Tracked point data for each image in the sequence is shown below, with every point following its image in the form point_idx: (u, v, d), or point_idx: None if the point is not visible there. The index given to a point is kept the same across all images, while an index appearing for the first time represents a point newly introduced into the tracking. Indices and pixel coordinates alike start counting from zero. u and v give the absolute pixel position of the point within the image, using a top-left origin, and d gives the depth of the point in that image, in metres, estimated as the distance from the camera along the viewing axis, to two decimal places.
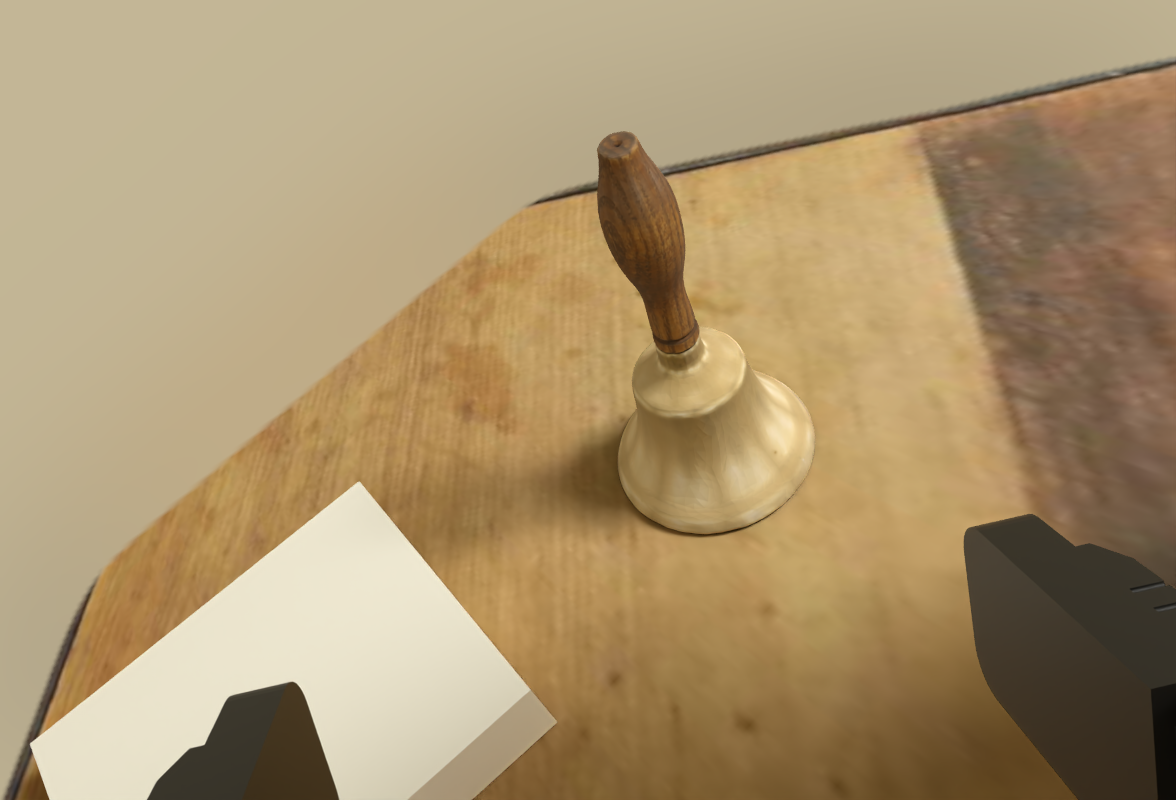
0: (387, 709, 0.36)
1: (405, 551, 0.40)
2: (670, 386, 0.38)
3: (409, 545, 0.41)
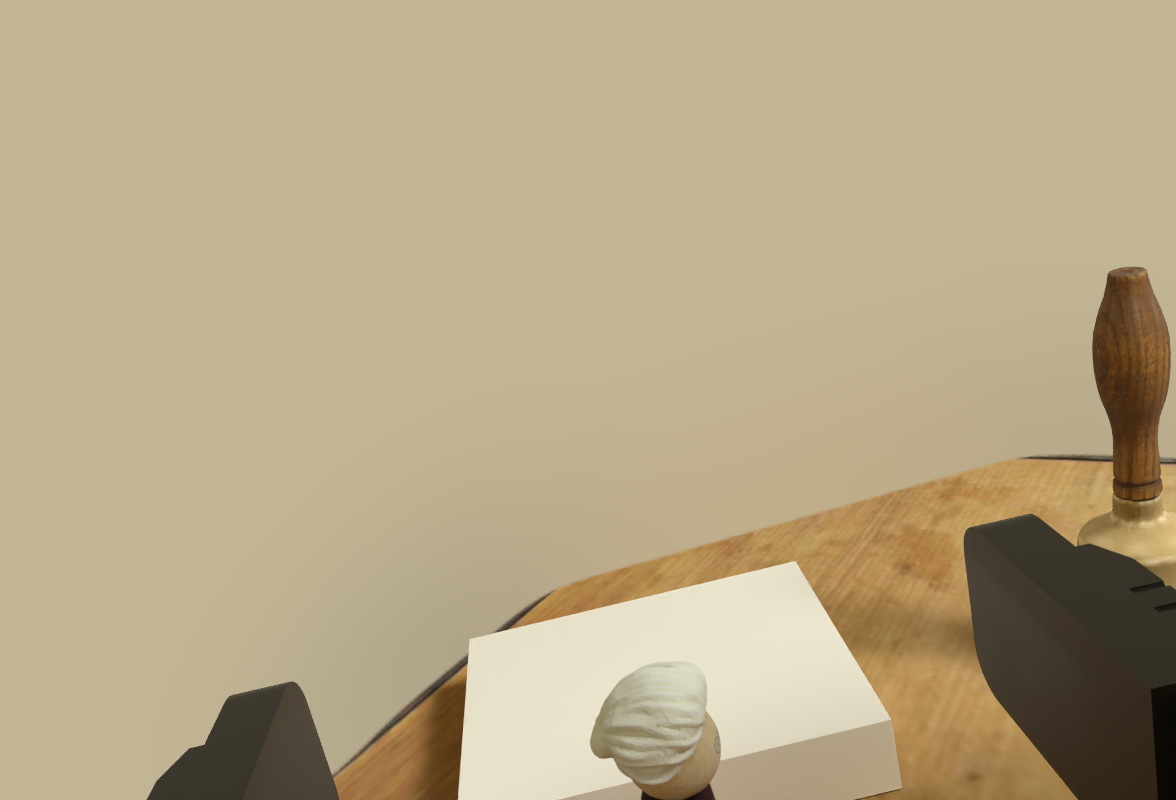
0: (755, 696, 0.40)
1: (815, 609, 0.45)
2: (1117, 533, 0.40)
3: (820, 606, 0.45)
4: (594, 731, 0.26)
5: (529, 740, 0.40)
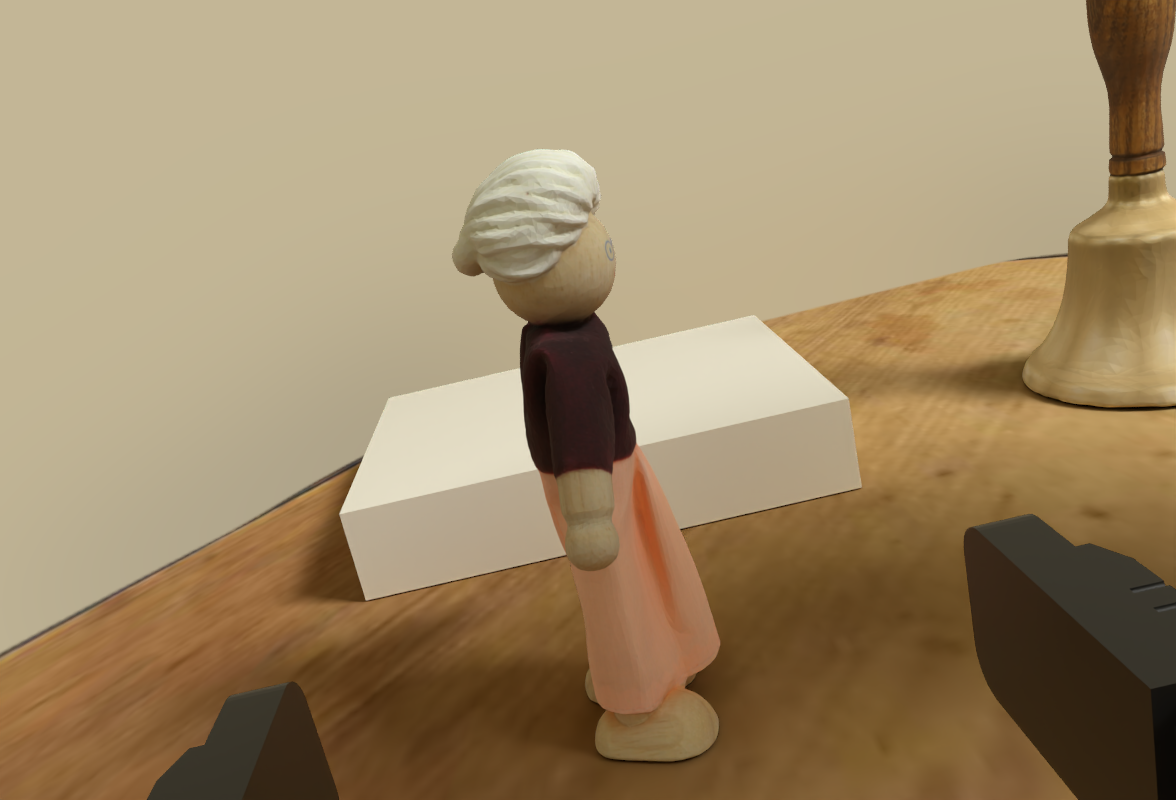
0: (696, 399, 0.35)
1: (772, 340, 0.40)
2: (1113, 217, 0.35)
3: (778, 338, 0.40)
4: (458, 241, 0.21)
5: (436, 452, 0.35)
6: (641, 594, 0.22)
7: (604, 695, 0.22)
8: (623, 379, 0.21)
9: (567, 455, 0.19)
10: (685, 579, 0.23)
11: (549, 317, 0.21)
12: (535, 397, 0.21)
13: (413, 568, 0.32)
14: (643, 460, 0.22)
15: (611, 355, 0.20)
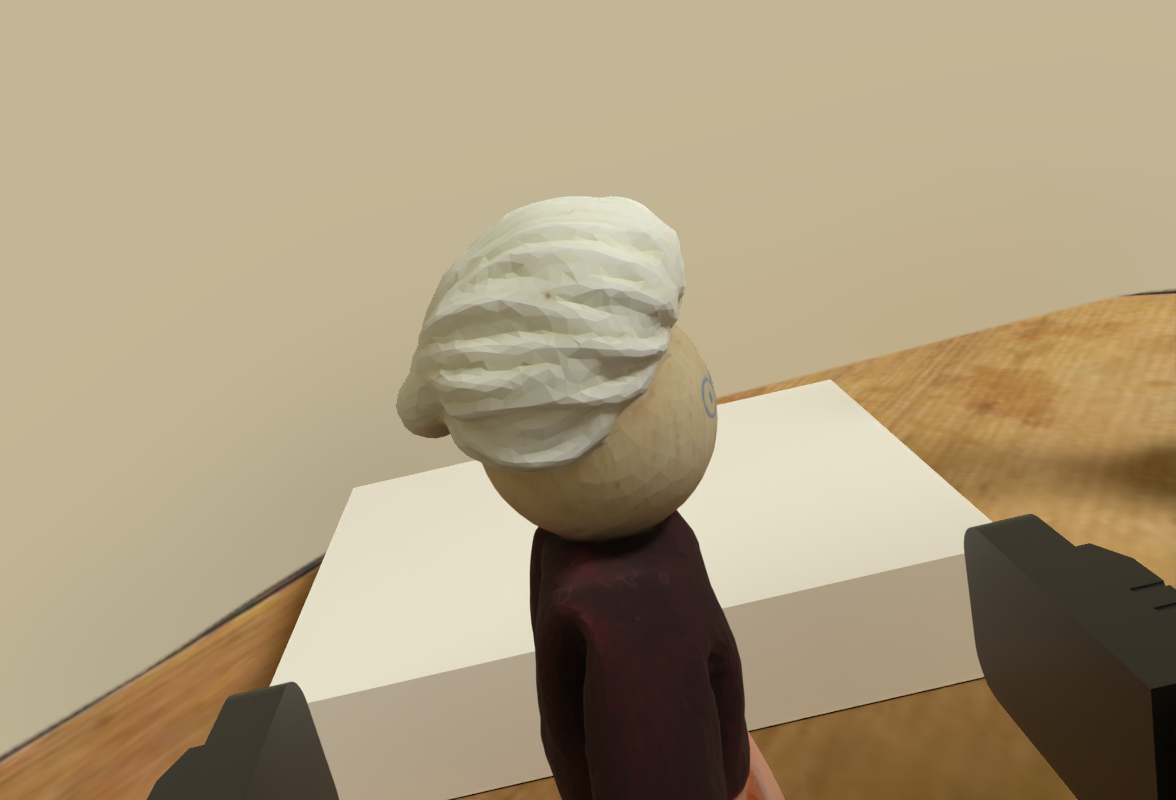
0: (776, 525, 0.24)
1: (866, 423, 0.29)
2: None
3: (874, 420, 0.29)
4: (409, 374, 0.11)
5: (408, 598, 0.25)
6: None
7: None
8: (735, 652, 0.10)
9: None
10: None
11: (588, 532, 0.10)
12: (562, 692, 0.10)
13: (369, 788, 0.22)
14: (761, 774, 0.12)
15: (714, 611, 0.10)
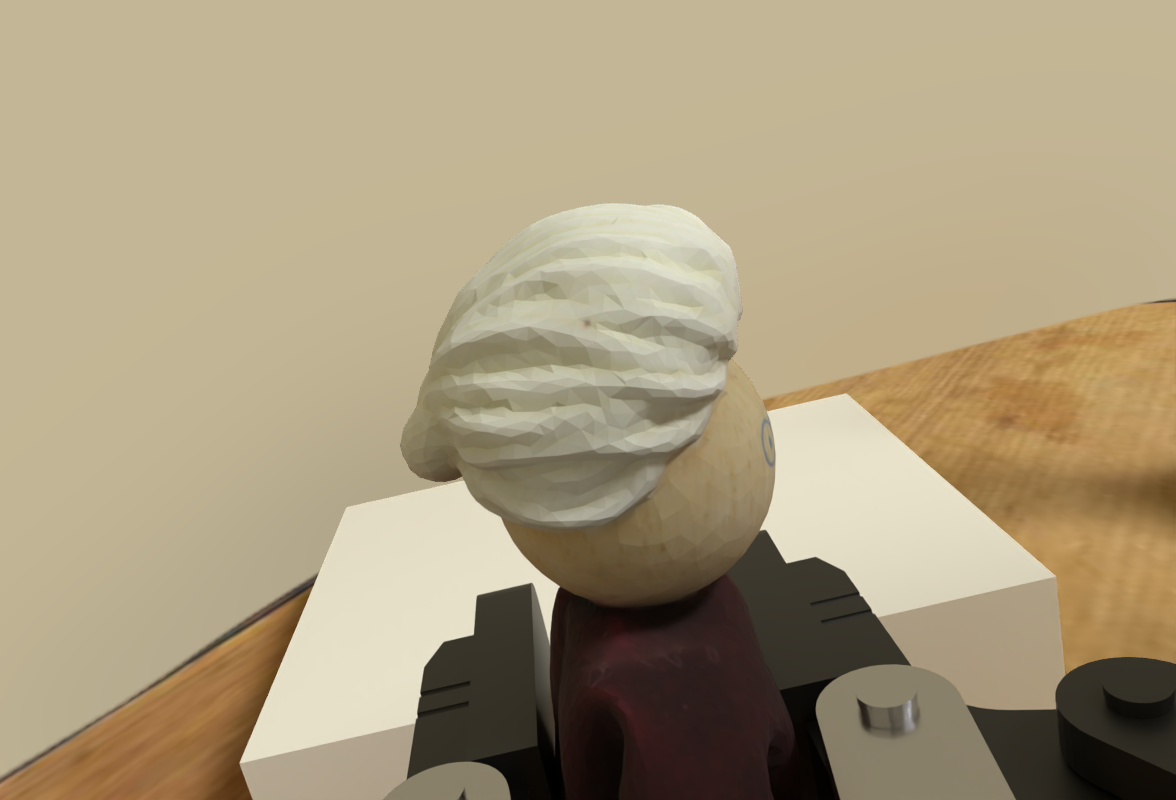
0: (795, 554, 0.23)
1: (887, 442, 0.28)
2: None
3: (895, 439, 0.28)
4: (415, 408, 0.09)
5: (402, 631, 0.23)
6: None
7: None
8: (794, 742, 0.09)
9: None
10: None
11: (624, 599, 0.09)
12: (589, 787, 0.09)
13: None
14: None
15: (772, 695, 0.09)
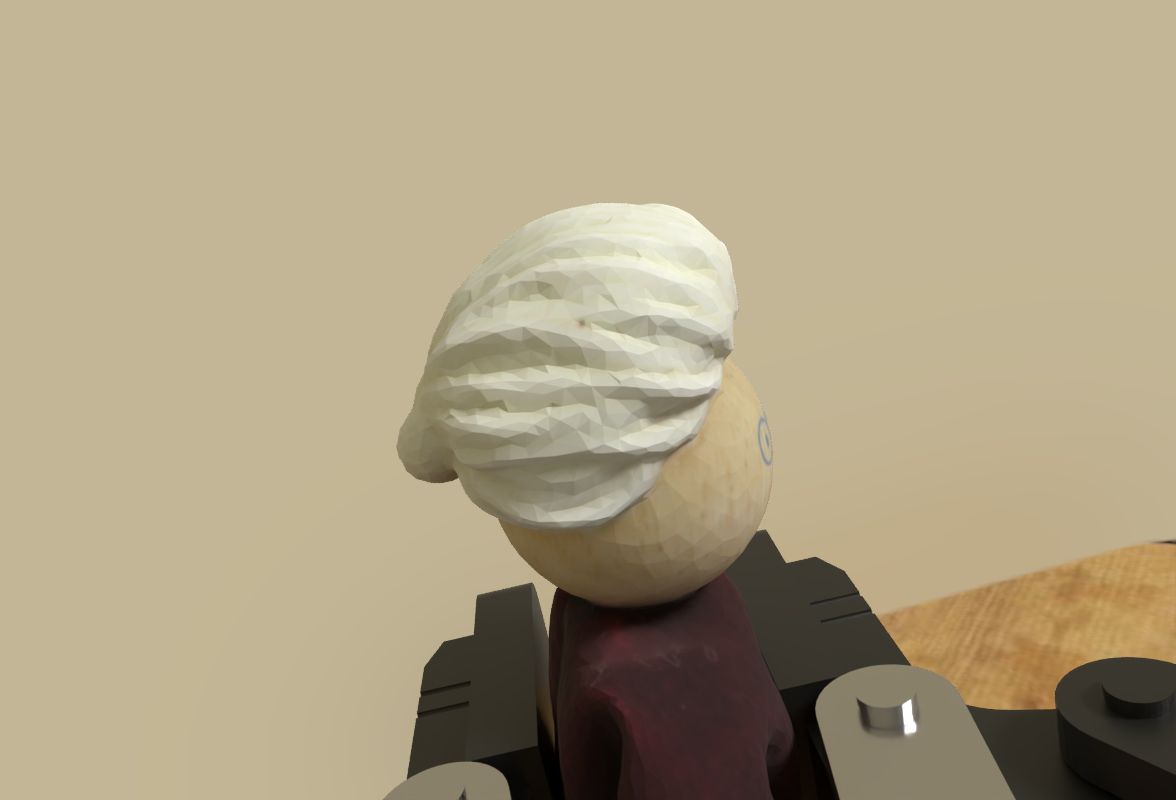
0: None
1: None
2: None
3: None
4: (412, 409, 0.09)
5: None
6: None
7: None
8: (793, 741, 0.09)
9: None
10: None
11: (623, 599, 0.09)
12: (589, 787, 0.09)
13: None
14: None
15: (771, 694, 0.09)
